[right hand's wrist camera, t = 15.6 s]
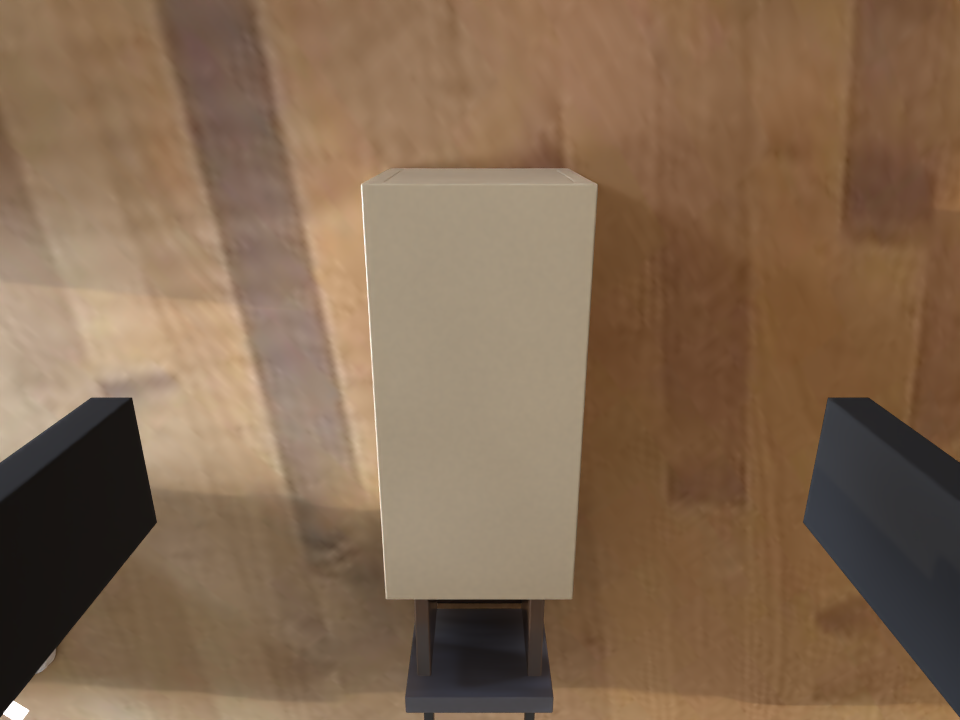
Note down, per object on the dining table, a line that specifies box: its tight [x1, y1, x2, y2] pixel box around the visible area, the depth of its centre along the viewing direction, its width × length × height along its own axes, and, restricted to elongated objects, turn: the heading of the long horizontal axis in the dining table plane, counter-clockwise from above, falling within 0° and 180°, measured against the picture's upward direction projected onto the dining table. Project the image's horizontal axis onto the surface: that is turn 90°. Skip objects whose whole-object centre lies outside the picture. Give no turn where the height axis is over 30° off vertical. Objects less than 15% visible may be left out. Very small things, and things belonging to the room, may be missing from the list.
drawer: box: [405, 599, 553, 720], centre depth 39 cm, size 26×9×7 cm, turn 0°
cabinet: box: [361, 168, 598, 599], centre depth 35 cm, size 21×10×9 cm, turn 0°
